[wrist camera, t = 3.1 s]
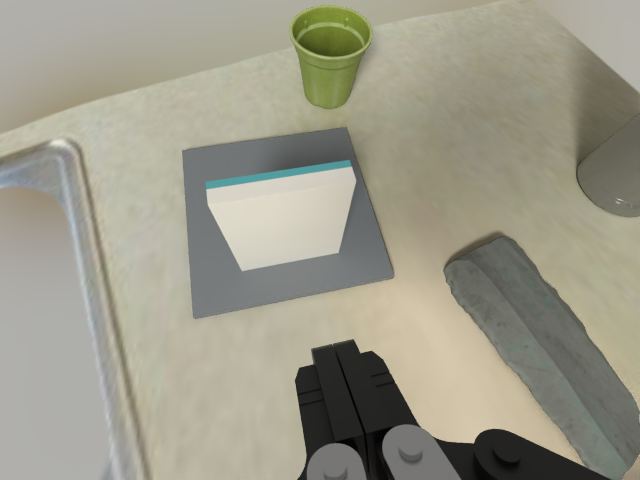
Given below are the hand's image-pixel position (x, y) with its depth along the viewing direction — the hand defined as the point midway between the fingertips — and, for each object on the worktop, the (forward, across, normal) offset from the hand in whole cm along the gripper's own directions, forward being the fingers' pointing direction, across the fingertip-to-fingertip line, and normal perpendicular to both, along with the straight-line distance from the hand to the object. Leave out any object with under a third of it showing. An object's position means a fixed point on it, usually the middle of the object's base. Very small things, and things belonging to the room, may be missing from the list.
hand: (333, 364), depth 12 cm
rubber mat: (+27, 0, +2) cm, 27 cm away
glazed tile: (+23, 0, +5) cm, 23 cm away
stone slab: (+14, -23, +16) cm, 31 cm away
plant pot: (+39, -9, -10) cm, 42 cm away
